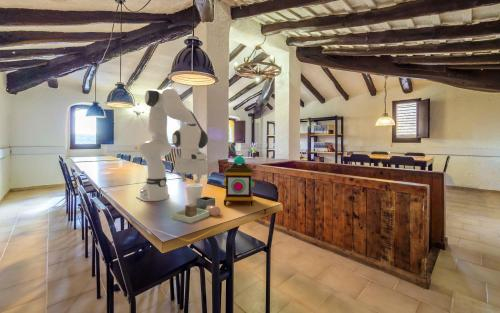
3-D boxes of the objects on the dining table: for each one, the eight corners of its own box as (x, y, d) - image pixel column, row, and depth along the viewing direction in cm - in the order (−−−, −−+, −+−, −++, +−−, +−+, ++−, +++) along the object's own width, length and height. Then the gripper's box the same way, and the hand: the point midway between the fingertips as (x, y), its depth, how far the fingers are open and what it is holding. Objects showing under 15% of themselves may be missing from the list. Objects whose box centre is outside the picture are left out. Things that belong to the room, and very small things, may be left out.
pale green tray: (171, 219, 119) (171, 213, 119) (191, 212, 130) (191, 207, 130) (190, 224, 112) (190, 218, 112) (209, 216, 123) (209, 211, 123)
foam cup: (198, 209, 135) (198, 187, 134) (183, 208, 137) (183, 186, 136) (205, 205, 145) (204, 184, 144) (190, 204, 147) (190, 183, 146)
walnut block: (185, 217, 121) (185, 205, 120) (191, 215, 124) (191, 203, 124) (190, 218, 119) (190, 206, 118) (196, 216, 122) (196, 204, 121)
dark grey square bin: (196, 211, 132) (196, 199, 132) (205, 208, 138) (205, 196, 138) (206, 213, 128) (206, 200, 128) (215, 210, 134) (215, 198, 134)
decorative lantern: (254, 207, 141) (255, 156, 139) (221, 206, 142) (221, 156, 140) (254, 198, 161) (255, 154, 159) (225, 198, 162) (225, 154, 160)
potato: (206, 216, 126) (204, 208, 124) (212, 211, 130) (210, 203, 128) (215, 218, 123) (213, 210, 121) (221, 213, 127) (219, 205, 125)
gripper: (171, 154, 122) (172, 181, 123) (200, 156, 111) (200, 185, 112) (181, 154, 127) (181, 179, 128) (209, 155, 116) (210, 183, 117)
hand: (190, 182), depth 120 cm, fingers open, 8 cm apart
